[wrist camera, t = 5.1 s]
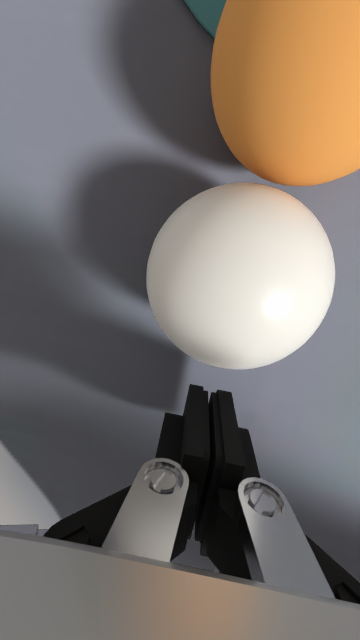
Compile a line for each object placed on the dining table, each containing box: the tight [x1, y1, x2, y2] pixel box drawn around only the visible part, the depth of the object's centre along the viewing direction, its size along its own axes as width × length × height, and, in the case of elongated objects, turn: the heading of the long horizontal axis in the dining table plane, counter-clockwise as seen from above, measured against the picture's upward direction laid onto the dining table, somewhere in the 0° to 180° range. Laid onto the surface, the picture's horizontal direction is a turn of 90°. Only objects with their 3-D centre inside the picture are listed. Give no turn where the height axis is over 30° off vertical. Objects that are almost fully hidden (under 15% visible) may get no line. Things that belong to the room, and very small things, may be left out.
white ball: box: [146, 183, 335, 369], centre depth 9 cm, size 6×6×6 cm
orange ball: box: [211, 0, 360, 186], centre depth 7 cm, size 6×6×6 cm
